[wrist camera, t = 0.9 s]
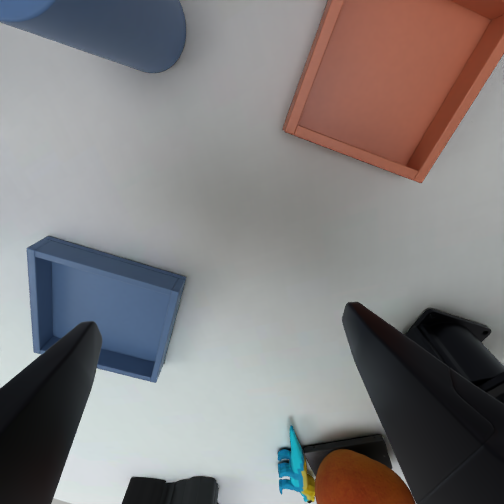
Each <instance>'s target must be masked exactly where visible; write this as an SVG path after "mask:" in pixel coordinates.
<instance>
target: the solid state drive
mask: <svg viewBox="0 0 504 504" xmlns="http://www.w3.org/2000/svg"><path fill="white" fill-rule="evenodd" d="M338 449H348V450H352V451H354V452H357V453H360V454H363V455H365V456H367V457H369V458H371V459H373V460H375V461H378V462H380V463H382V464H384V465H386V466H387V467H388V468H390V469H392V465H391V462H390V458H389V455H388V451H387V448H386V444H385V441H384V438H383V436H382V435H375V436H369V437H363V438H357V439H351V440H345V441H339V442H333V443H327V444H321V445H315V446H309V447H304V448H303V453H304V456H305V458H306V459H307V461H308V463H309V465H310V467H311V469H312V470H313V472H314V474H315V476H316V475H317V472H318V468H319V466H320V464H321V462H322V460H323V459H324V458H325V457H326V456H327V455H328V454H329V453H330V452H332V451H334V450H338Z"/></svg>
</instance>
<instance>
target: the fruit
mask: <svg viewBox="0 0 504 504" xmlns="http://www.w3.org/2000/svg"><path fill="white" fill-rule="evenodd" d="M315 497H316V501H317V504H415V501H414V498H413V496H412V494H411V492H410V490H409V488H408V487H407V485H406V484H405V483H404V481H403V480H402V479H401V478H400V477H399V476H398V475H397V474H396V473H395V472H394V471H393V470H391V469H390V468H388V467H387V466H386V465H384V464H382V463H380V462H378V461H375V460H373V459H371V458H369V457H367V456H365V455H363V454H360V453H357V452H354V451H352V450H348V449H338V450H334V451H332V452H330V453H329V454H328V455H327V456H326V457H325V458H324V459H323V460H322V462H321V464H320V466H319V468H318V472H317V475H316V479H315Z"/></svg>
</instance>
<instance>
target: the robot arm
mask: <svg viewBox="0 0 504 504" xmlns="http://www.w3.org/2000/svg"><path fill="white" fill-rule="evenodd" d="M430 314H431V315H430ZM342 323H343V326H344V330H345V333H346V336H347V339H348V342H349V346H350V349H351V352H352V355H353V358H354V361H355V364H356V366H357V368H358V371H359V373H360V375H361V378H362V380H363V382H364V385H365V387H366V389H367V391H368V394H369V396H370V398H371V401H372V403H373V405H374V408H375V410H376V412H377V414H378V417H379V419H380V421H381V424H382V426H383V428H384V430H385V433H386V435H387V437H388V440H389V442H390V444H391V447H392V449H393V451H394V453H395V456H396V458H397V460H398V463H399V465H400V467H401V470H402V472H403V474H404V476H405V479H406V481H407V483H408V486H409V488H410V490H411V492H412V495H413V497H414V499H415V501H416V503H417V504H504V366H503V365H502V364H501V363H500V362H499V361H498V360H497V359H496V358H495V356H494V355H493V354H492V353H491V352H490V351H489V350H488V349H487V348H486V347H485V346H484V345H483V344H482V343H481V342H482V341H483V340H484V339H485V338H487V337H488V336H489V335H490V333H491V330H490V329H489V328H488V327H487V326H485V325H482V324H479V323H475V322H472V321H469V320H466V319H463V318H460V317H457V316H453V315H450V314H447V313H444V312H441V311H438V310H435V309H427V310H426V311H425V312H424V313H423V314H422V315H421V316H420V318H419V319H418V320H417V321H416V322H415V324H414V325H413V326H412V327H411V329H410V330H409V331H408V332H407V333H406V335H404V334H402V333H401V332H400V331H398V330H397V329H395V328H394V327H393V326H391V325H390V324H388V323H387V322H386V321H384V320H383V319H381V318H380V317H379V316H377V315H376V314H374V313H373V312H372V311H370V310H369V309H367V308H366V307H365V306H363V305H362V304H360V303H359V302H348V303H347V304H346V306H345V310H344V313H343V317H342ZM102 341H103V340H102V335H101V333H100V331H99V328H98V326H97V324H96V323H95V322H94V321H86V322H81V323H79V324H78V325H77V326H75V327H74V328H73V329H72V330H71V331H69V332H68V333H67V334H66V335H65V336H63V337H62V338H61V339H60V340H59V341H57V342H56V343H55V344H54V345H52V346H51V347H50V348H49V349H48V350H46V351H45V352H44V353H43V354H42V355H40V356H39V357H38V358H37V359H36V360H34V361H33V362H32V363H31V364H30V365H28V366H27V367H26V368H25V369H23V370H22V371H21V372H20V373H19V374H17V375H16V376H15V377H14V378H13V379H11V380H10V381H9V382H8V383H7V384H5V385H4V386H3V387H2V388H0V504H51V502H52V499H53V497H54V494H55V491H56V488H57V485H58V483H59V480H60V477H61V474H62V471H63V468H64V466H65V463H66V460H67V457H68V454H69V451H70V448H71V446H72V443H73V440H74V437H75V434H76V431H77V428H78V426H79V423H80V420H81V417H82V414H83V411H84V409H85V406H86V403H87V400H88V397H89V394H90V391H91V388H92V385H93V381H94V377H95V373H96V368H97V364H98V360H99V355H100V351H101V347H102Z"/></svg>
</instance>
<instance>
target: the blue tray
mask: <svg viewBox="0 0 504 504" xmlns="http://www.w3.org/2000/svg"><path fill="white" fill-rule="evenodd" d="M27 261H28V276H29V291H30V305H31V320H32V335H33V350H34V353H38V354H43V353H44V352H45V351H46V350H48V349H49V348H50V347H51V346H52V345H54V344H55V343H56V342H57V341H59V340H60V339H61V338H62V337H63V336H65V335H66V334H67V333H68V332H69V331H71V330H72V329H73V328H74V327H75V326H77V325H78V324H79V323H81V322H86V321H94V322H95V323H96V324H97V326H98V328H99V331H100V333H101V335H102V340H103V341H102V347H101V351H100V355H99V360H98V364H97V368H98V369H102V370H106V371H110V372H114V373H118V374H122V375H126V376H130V377H134V378H138V379H142V380H146V381H151V382H155V383H156V382H157V379H158V377H159V374H160V372H161V369H162V367H163V364H164V360H165V357H166V353H167V349H168V345H169V341H170V338H171V334H172V330H173V326H174V323H175V319H176V315H177V311H178V307H179V304H180V300H181V296H182V292H183V288H184V285H185V281H186V277H184V276H181V275H178V274H174V273H171V272H168V271H164V270H161V269H158V268H154V267H151V266H148V265H144V264H141V263H137V262H134V261H131V260H127V259H124V258H121V257H117V256H114V255H111V254H107V253H104V252H101V251H97V250H94V249H91V248H87V247H84V246H80V245H77V244H74V243H70V242H67V241H64V240H60V239H57V238H54V237H50V236H47V237H45V238H44V239H42V240H40V241H38V242H37V243H35V244H33V245H31V246H30V247H28V248H27Z"/></svg>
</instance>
